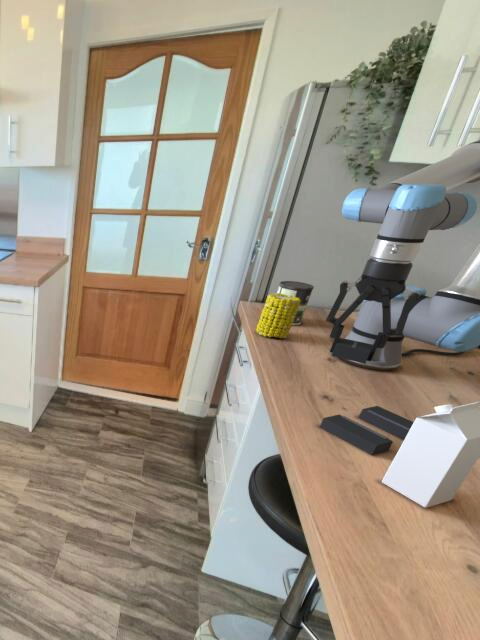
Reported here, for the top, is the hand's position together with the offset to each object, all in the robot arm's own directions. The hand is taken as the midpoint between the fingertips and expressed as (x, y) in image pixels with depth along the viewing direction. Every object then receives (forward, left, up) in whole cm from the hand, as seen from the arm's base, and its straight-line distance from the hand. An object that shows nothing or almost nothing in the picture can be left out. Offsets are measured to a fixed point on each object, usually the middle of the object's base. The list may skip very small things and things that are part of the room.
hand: (350, 354), depth 104 cm
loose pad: (0, 0, 0) cm, 0 cm away
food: (-26, -39, -13) cm, 48 cm away
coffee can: (-43, -48, -13) cm, 66 cm away
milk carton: (+19, +29, -13) cm, 37 cm away
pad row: (+6, +14, -13) cm, 20 cm away
